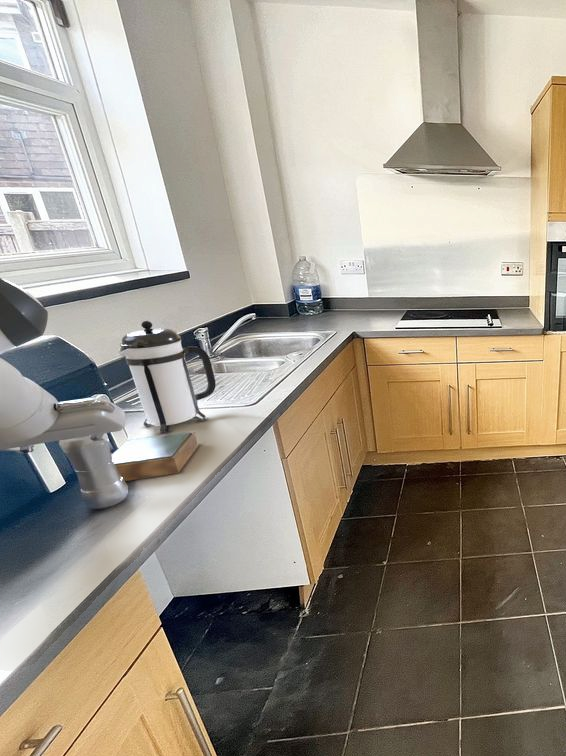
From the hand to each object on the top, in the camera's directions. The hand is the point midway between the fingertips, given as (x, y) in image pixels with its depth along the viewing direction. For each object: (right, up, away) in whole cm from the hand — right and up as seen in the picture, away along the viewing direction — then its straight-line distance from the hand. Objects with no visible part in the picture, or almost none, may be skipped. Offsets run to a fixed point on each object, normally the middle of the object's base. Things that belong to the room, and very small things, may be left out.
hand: (65, 442), depth 73 cm
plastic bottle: (-3, -14, +11) cm, 18 cm away
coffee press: (-19, -1, +49) cm, 53 cm away
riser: (-7, -9, +26) cm, 28 cm away
